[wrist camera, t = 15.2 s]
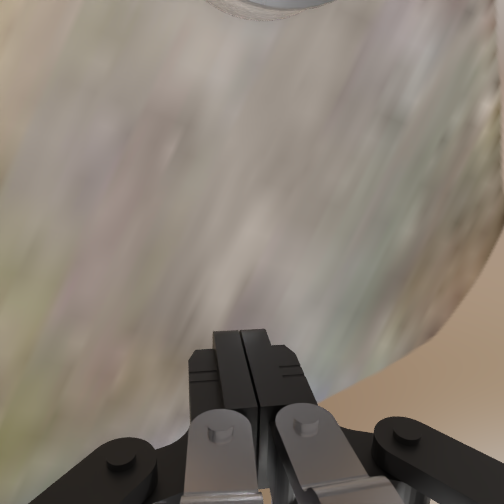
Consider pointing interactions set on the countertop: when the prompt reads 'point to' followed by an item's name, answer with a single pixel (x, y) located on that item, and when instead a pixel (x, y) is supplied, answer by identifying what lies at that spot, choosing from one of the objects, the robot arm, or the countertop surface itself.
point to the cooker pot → (250, 10)
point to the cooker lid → (287, 4)
